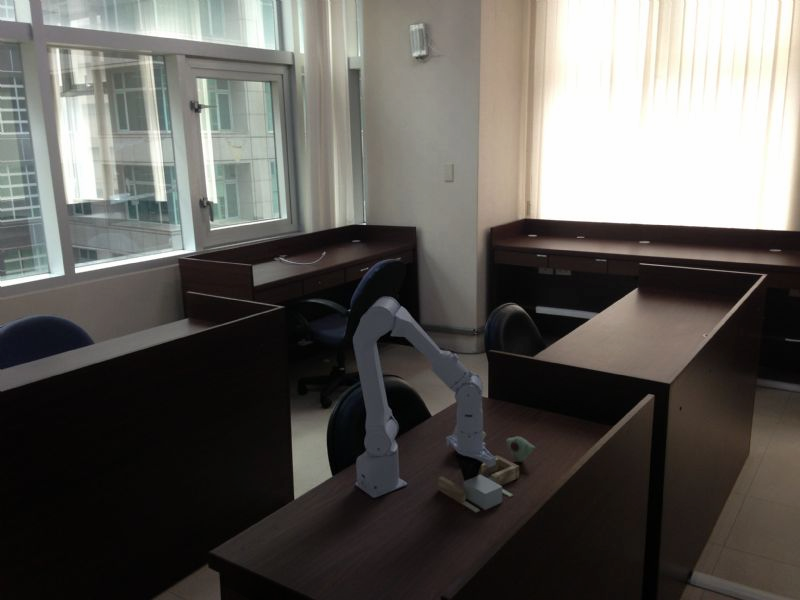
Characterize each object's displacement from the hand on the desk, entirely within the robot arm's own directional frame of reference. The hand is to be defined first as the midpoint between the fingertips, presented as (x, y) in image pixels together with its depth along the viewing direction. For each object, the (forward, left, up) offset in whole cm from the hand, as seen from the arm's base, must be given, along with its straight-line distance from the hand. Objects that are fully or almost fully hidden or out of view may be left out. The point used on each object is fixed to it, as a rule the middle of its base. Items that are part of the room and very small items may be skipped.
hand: (470, 484), depth 155 cm
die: (+12, +15, -2) cm, 19 cm away
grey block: (-1, -5, -2) cm, 5 cm away
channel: (+3, 0, -1) cm, 4 cm away
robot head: (+18, +3, -2) cm, 18 cm away
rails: (0, -6, -1) cm, 6 cm away
